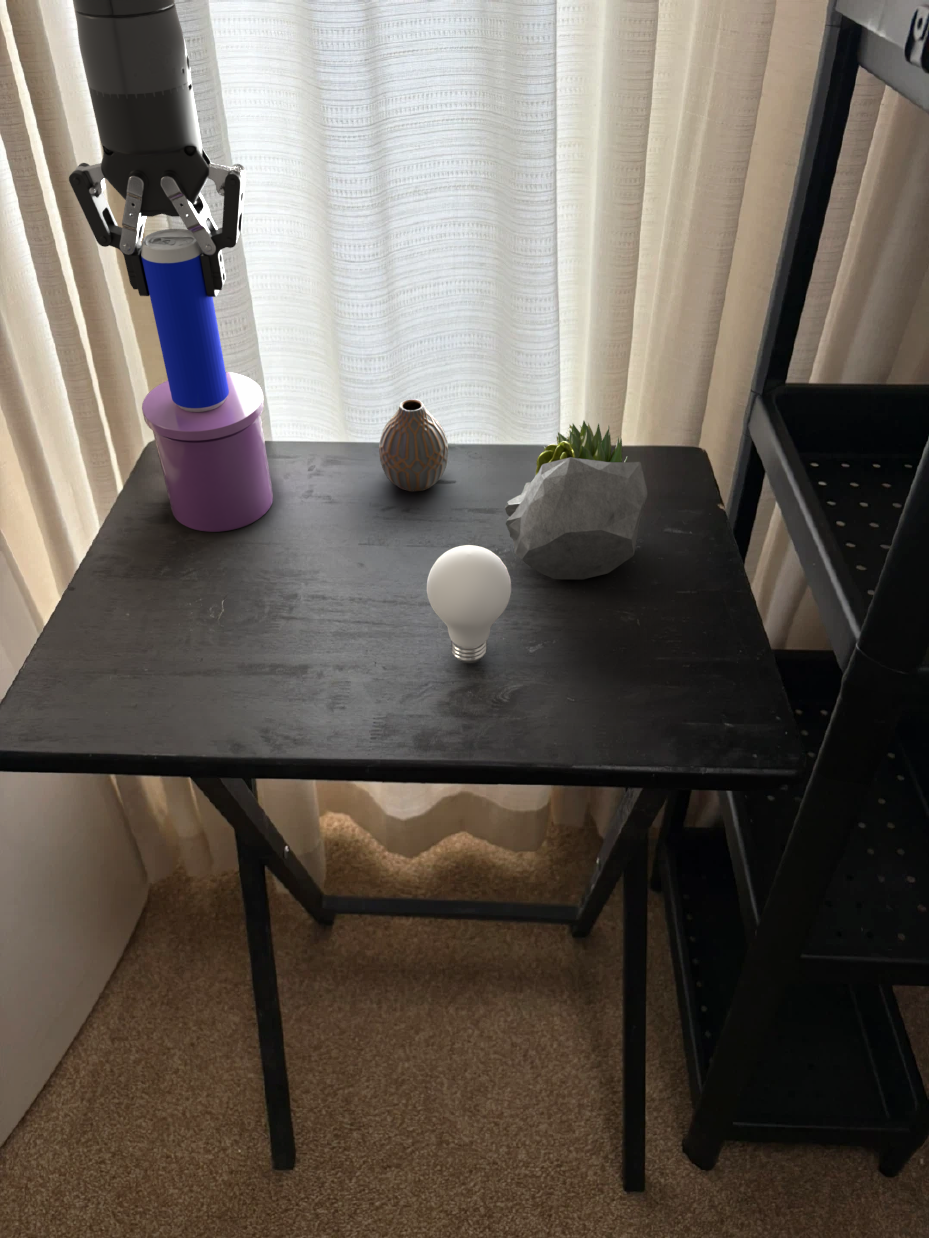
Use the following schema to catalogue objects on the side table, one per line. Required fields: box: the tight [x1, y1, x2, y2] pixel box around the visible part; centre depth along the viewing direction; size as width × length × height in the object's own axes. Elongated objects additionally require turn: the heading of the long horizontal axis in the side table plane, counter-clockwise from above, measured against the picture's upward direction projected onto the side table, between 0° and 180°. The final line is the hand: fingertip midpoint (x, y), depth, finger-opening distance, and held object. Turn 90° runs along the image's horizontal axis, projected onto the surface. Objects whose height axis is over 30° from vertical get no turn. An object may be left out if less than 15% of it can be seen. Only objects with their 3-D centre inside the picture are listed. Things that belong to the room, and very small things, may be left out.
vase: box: [378, 398, 449, 492], centre depth 103 cm, size 7×7×9 cm
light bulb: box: [426, 544, 512, 664], centre depth 82 cm, size 7×7×11 cm
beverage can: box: [141, 228, 229, 412], centre depth 90 cm, size 5×5×15 cm
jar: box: [141, 371, 274, 533], centre depth 99 cm, size 11×11×12 cm
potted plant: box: [504, 420, 649, 580], centre depth 94 cm, size 12×13×15 cm
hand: (180, 292), depth 88 cm, fingers closed on beverage can, 5 cm apart
